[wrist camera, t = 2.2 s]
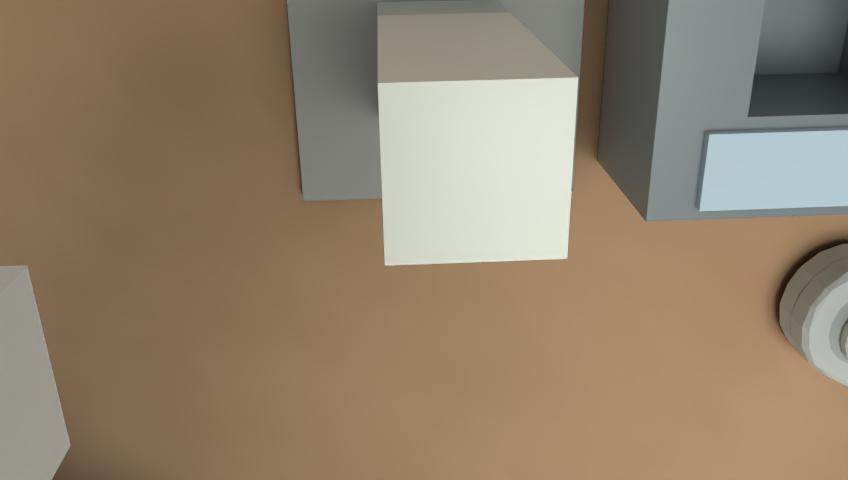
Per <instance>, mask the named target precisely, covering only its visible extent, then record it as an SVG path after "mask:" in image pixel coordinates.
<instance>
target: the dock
mask: <svg viewBox="0 0 848 480" xmlns="http://www.w3.org/2000/svg"><path fill="white" fill-rule="evenodd" d="M597 161H598V162H599V163H600V164H601V166H602V167H603V168H604V169H605V171H606V172H607V173H608V174H609V176H610V177H611V178H612V179H613V181H614V182H615V183H616V184H617V186H618V187H619V188H620V189H621V191H622V192H623V193H624V194H625V196H626V197H627V198H628V199H629V201H630V202H631V203H632V204H633V206H634V207H635V208H636V209H637V211H638V212H639V213H640V214H641V216H642V217H643V218H644V219H645V221H672V220H700V219H728V218H755V217H783V216H811V215H838V214H848V0H609V8H608V21H607V34H606V48H605V61H604V75H603V88H602V102H601V115H600V129H599V142H598V156H597Z"/></svg>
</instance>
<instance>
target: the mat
mask: <svg viewBox="0 0 848 480" xmlns="http://www.w3.org/2000/svg"><path fill="white" fill-rule="evenodd" d="M410 1H452V0H287V9H288V21H289V33H290V45H291V57H292V69H293V81H294V93H295V105H296V117H297V129H298V141H299V153H300V166H301V178H302V190H303V201H320V200H349V199H378V198H382V179H381V154H380V130H379V105H378V20H377V2H410ZM498 1H499V2H500V3H501V4H502V5H503V6H504V7H505V8H506V9H507V10H508V11H509V12H510V13H511V14H512V15H513V16H514V17H515V18H517V19H518V20H519V21H520V22H521V23H522V24H523V25H524V26H525V27H526V28H527V29H528V30H529V31H530V32H531V33H532V34H533V35H534V36H535V37H536V38H537V39H539V40H540V41H541V42H542V43H543V44H544V45H545V46H546V47H547V48H548V49H549V50H550V51H551V52H552V53H553V54H554V55H555V56H556V57H557V58H558V59H559V60H561V61H562V62H563V63H564V64H565V65H566V66H567V67H568V68H569V69H570V70H571V71H572V72H573V73H574V74H575V75H576V76H577V77H578V90H577V106H576V122H575V138H574V154H573V171H572V187H571V192H573V180H574V164H575V148H576V132H577V116H578V100H579V84H580V68H581V52H582V36H583V20H584V4H585V0H498Z"/></svg>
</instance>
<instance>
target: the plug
mask: <svg viewBox="0 0 848 480" xmlns="http://www.w3.org/2000/svg"><path fill="white" fill-rule="evenodd" d="M377 20H378V105H379V130H380V154H381V179H382V204H383V229H384V254H385V266H389V265H416V264H442V263H468V262H495V261H521V260H547V259H567V252H568V236H569V219H570V203H571V187H572V171H573V154H574V138H575V122H576V106H577V90H578V77H577V76H576V75H575V74H574V73H573V72H572V71H571V70H570V69H569V68H568V67H567V66H566V65H565V64H564V63H563V62H562V61H561V60H559V59H558V58H557V57H556V56H555V55H554V54H553V53H552V52H551V51H550V50H549V49H548V48H547V47H546V46H545V45H544V44H543V43H542V42H541V41H540V40H539V39H537V38H536V37H535V36H534V35H533V34H532V33H531V32H530V31H529V30H528V29H527V28H526V27H525V26H524V25H523V24H522V23H521V22H520V21H519V20H518V19H517V18H515V17H514V16H513V15H512V14H511V13H510V12H509V11H508V10H507V9H506V8H505V7H504V6H503V5H502V4H501V3H500V2H499V1H498V0H452V1H410V2H377Z"/></svg>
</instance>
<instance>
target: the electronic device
mask: <svg viewBox="0 0 848 480" xmlns="http://www.w3.org/2000/svg"><path fill="white" fill-rule="evenodd" d="M780 326H781V328H782V330H783V332H784V334H785V336H786V339H787V340H788V341H789V342H790V343H791V344H792V345H793V347H794V348H795V349H796V350H797V351H798V352H799V353H800V354H801V355H802V356H803V357H804V358H805V360H806V361H807V362H808V363H809V364H811V365H812V366H813V367H814V368H816V369H817V370H818V371H819V372H821V373H822V374H823V375H825V376H827V377H829V378H831V379H833V380H835V381H837V382H839V383H841V384H843V385H845V386H847V387H848V243H847V244H841V245H838V246H835V247H833V248H830V249H827V250H824V251H821V252H819V253H818V254H816V255H815V256H814V257H813V258H811V259H810V260H809V261H807V262H806V263H805V264H803V265H802V266H801V267H800V268H799V269H798V270H797V272H796V273H795V274H794V276H793V277H792V278H791V280H790V281H789V282H788V284H787V286H786V289H785V291H784V294H783V297H782V299H781V302H780Z"/></svg>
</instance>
